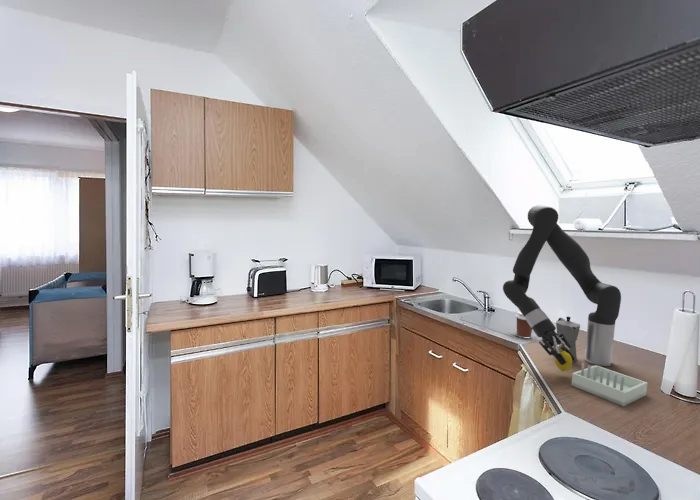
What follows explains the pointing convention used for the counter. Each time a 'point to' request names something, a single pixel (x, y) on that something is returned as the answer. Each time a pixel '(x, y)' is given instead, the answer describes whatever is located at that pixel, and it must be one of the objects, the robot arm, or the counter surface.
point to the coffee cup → (523, 326)
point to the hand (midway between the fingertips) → (568, 362)
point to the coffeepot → (568, 333)
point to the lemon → (568, 360)
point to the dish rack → (609, 384)
